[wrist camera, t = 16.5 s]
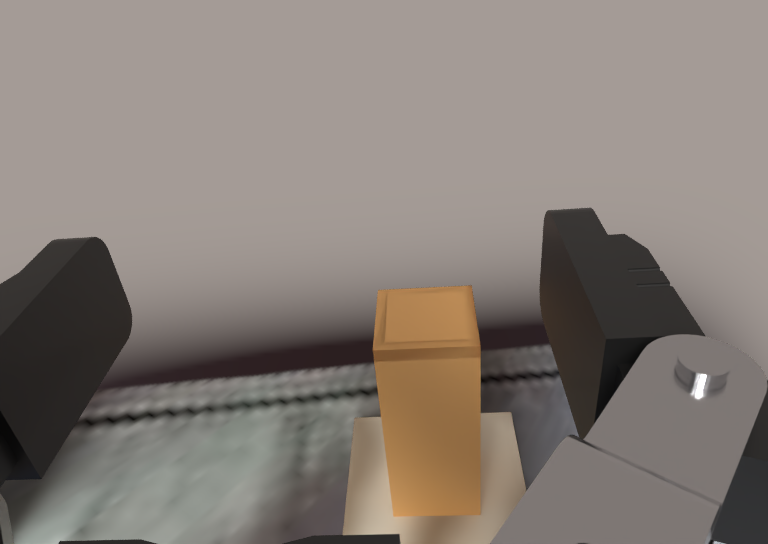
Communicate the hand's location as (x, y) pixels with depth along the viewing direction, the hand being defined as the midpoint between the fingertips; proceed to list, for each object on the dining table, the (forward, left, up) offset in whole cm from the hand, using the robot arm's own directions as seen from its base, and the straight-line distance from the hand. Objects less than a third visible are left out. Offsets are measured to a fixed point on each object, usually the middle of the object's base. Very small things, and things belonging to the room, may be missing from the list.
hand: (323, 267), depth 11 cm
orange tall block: (-9, +15, -29) cm, 34 cm away
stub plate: (-9, +15, -30) cm, 35 cm away
